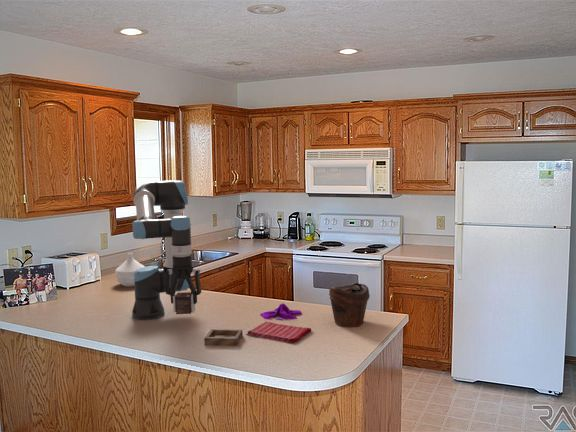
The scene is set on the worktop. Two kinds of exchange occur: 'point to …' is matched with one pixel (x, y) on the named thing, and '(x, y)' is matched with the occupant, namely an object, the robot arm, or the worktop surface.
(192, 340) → the worktop surface
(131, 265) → the vase
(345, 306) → the dark brown lidded bucket
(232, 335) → the brown wooden shallow tray
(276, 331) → the dish towel
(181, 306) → the box
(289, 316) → the cloth
